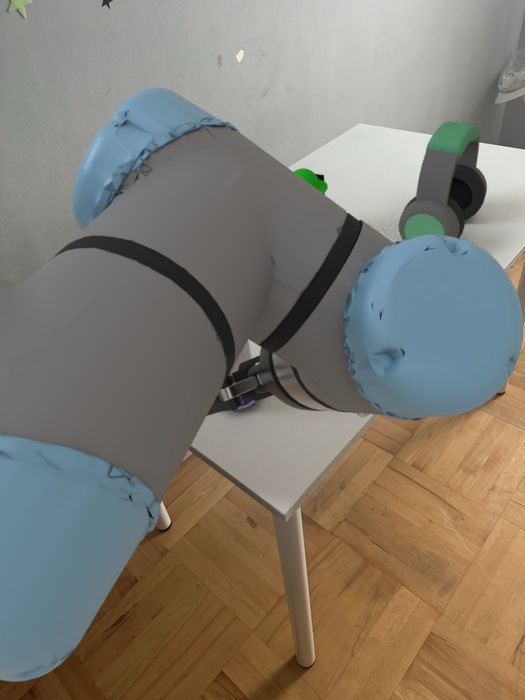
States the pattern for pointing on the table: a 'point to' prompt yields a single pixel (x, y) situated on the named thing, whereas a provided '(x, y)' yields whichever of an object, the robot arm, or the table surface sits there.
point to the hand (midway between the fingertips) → (258, 372)
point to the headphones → (446, 184)
